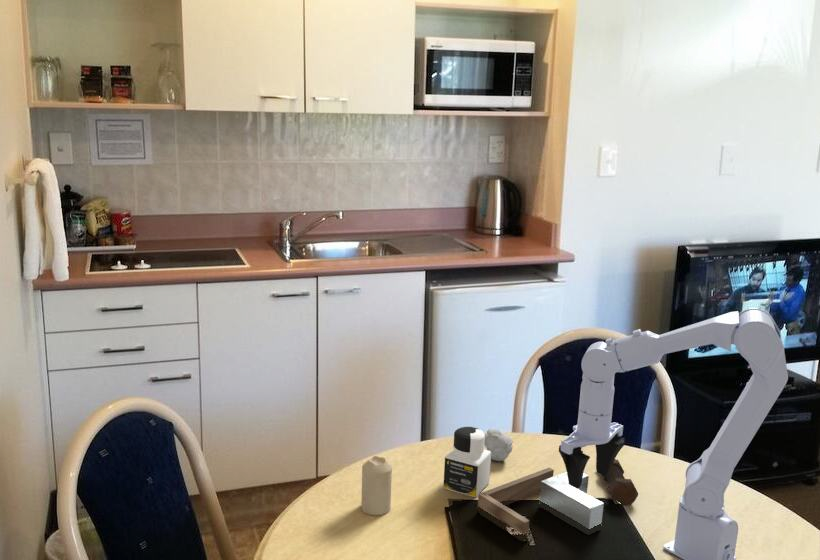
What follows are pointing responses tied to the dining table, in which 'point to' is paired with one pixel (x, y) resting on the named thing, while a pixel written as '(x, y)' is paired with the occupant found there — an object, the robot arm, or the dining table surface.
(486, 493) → the corner jig
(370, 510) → the candle
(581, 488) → the bracket
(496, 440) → the grey rock
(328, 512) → the dining table surface
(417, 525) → the dining table surface
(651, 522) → the dining table surface
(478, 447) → the medicine bottle
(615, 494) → the bolt
